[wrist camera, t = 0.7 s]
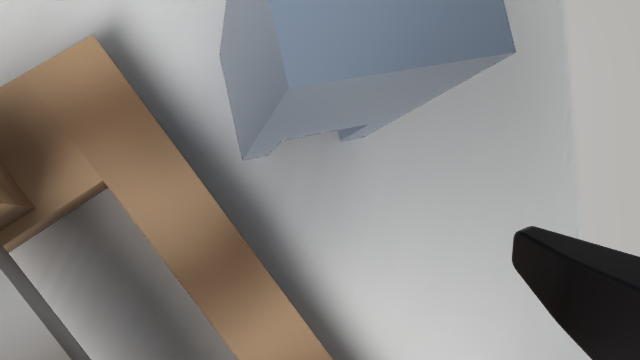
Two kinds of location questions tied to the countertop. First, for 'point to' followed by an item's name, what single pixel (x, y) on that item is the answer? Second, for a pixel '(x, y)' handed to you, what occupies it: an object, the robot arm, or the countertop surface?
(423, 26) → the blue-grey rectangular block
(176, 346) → the countertop surface
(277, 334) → the wooden block stand
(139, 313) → the countertop surface
